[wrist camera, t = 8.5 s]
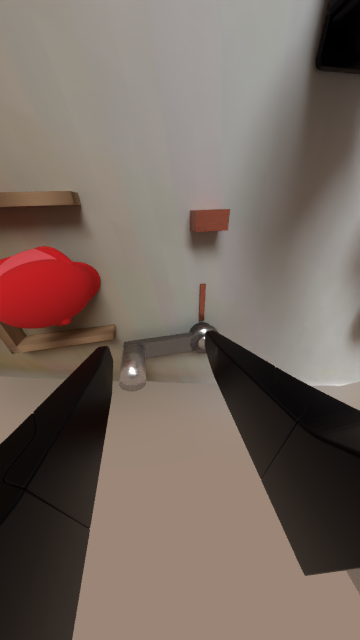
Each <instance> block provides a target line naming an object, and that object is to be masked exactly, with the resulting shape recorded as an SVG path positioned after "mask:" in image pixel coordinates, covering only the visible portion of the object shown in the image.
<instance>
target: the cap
mask: <svg viewBox="0 0 360 640" xmlns="http://www.w3.org/2000/svg"><path fill="white" fill-rule="evenodd" d="M99 287H100V276H99V274H98V272H97V271H96V270H95V269H94V268H93V267H92V266H90V265H88V264H85V263H81V262H73V261H71V260H70V259H69V258H68V257H67V256H65V255H64V254H63V253H61V252H60V251H58V250H56V249H54V248H51V247H45V246H43V247H38V248H35V249H31V250H27V251H23V252H21V253H18V254H16V255H14V256H12V257H8V258H4V259H1V260H0V321H1V322H3V323H5V324H7V325H10V326H14V327H18V328H43V327H48V326H52V325H57V326H61V325H67V324H70V322H71V320H72V319H71V318H72V317H73V316H75V315H76V314H78V313H79V312H80V311H81V310H82V309H83V308H84V307H85V306H86V305H87V303H88V302H89V300H90V299H91V298H92V297H93V296H94V295H95V294H96V293H97V291H98V289H99Z"/></svg>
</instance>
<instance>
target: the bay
mask: <svg viewBox="0 0 360 640" xmlns="http://www.w3.org/2000/svg"><path fill="white" fill-rule="evenodd" d="M63 205H81V203H80V200H79V196H78V193H76V192H72V191H51V192H3V193H0V208H1V207H32V206H63ZM115 335H116V327H115V325H109V326H101V327H93V328H85V329H78V330H70V331H62V332H55V333H47V334H39V335H31V336H26V335H25V334H24V332H23V331H22V329H21V328H18V327H14V326H10V325H7V324H5V323H3V322H1V321H0V338H1V339H2V341H3V342H4V343H5V345H6V346H7V347H8V349H9V350H10V351H11V353H12V354H13V353H20V352H27V351H34V350H41V349H48V348H56V347H63V346H70V345H77V344H84V343H91V342H98V341H105V340H112V339H115Z"/></svg>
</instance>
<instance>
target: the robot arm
mask: <svg viewBox="0 0 360 640" xmlns="http://www.w3.org/2000/svg"><path fill="white" fill-rule="evenodd" d="M324 54H325V55H326V59H325V60H324ZM316 67H317V69H318V70H324V71H335V72H346V73H357V74H360V0H330V2H329V6H328V11H327V15H326V20H325V24H324V28H323V32H322V37H321V41H320V45H319V49H318V53H317V58H316ZM205 350H206V353H207V356H208V359H209V362H210V365H211V369H212V372H213V375H214V377H215V379H216V382H217V384H218V386H219V388H220V390H221V393H222V395H223V397H224V399H225V401H226V404H227V406H228V408H229V410H230V412H231V415H232V417H233V419H234V421H235V423H236V426H237V428H238V430H239V432H240V434H241V436H242V439H243V441H244V443H245V445H246V448H247V450H248V451H249V454H250V456H251V459H252V461H253V463H254V465H255V467H256V469H257V472H258V474H259V476H260V478H261V480H262V483H263V485H264V487H265V490H266V492H267V494H268V496H269V498H270V500H271V503H272V505H273V507H274V509H275V512H276V514H277V516H278V518H279V520H280V522H281V525H282V527H283V529H284V531H285V534H286V536H287V538H288V540H289V542H290V545H291V547H292V549H293V551H294V553H295V556H296V558H297V560H298V562H299V564H300V566H301V569H302V571H303V573H304V575H305V576H307V575H314V574H322V573H330V572H336V571H344V570H346V571H347V573H348V574H349V576H350V578H351V580H352V582H353V583H354V585H355V587H356V589H357V590H358V592H359V594H360V411H359V410H357V409H355V408H353V407H351V406H349V405H347V404H345V403H343V402H341V401H339V400H337V399H335V398H333V397H331V396H329V395H327V394H325V393H323V392H321V391H319V390H317V389H315V388H313V387H311V386H309V385H308V384H306V383H304V382H302V381H300V380H298V379H296V378H294V377H293V376H291V375H289V374H287V373H286V372H284V371H282V370H280V369H279V368H277V367H276V368H275V366H274V365H272V364H270V363H268V362H267V361H265V360H263V359H262V358H260V357H258V356H257V355H255V354H253V353H252V352H250V351H248V350H246V349H245V348H243V347H241V346H240V345H238V344H236V343H235V342H233V341H231V340H229V339H228V338H226V337H224V336H223V335H221V334H219V333H218V332H216V331H214V330H211V331H206V332H205ZM112 380H113V358H112V355H111V352H110V349H109V347H108V346H102V347H98V348H97V349H96V350H95V351H94V352H93V353H92V354H91V355H90V356H89V357H88V358H87V359H86V360H85V361H84V362H83V363H82V364H81V365H80V366H79V367H78V368H77V369H76V370H75V371H74V372H73V373H72V374H71V375H70V376H69V377H68V378H67V379H66V380H65V381H64V382H63V383H62V384H61V385H60V386H59V387H58V388H57V389H56V390H55V391H54V392H53V393H52V394H51V395H50V396H49V397H48V398H47V399H46V400H45V401H44V402H43V403H42V404H41V405H40V406H39V407H38V408H37V409H36V410H35V411H34V414H31V415H30V416H29V417H28V418H27V419H26V420H25V421H24V422H23V423H22V424H21V425H20V426H19V427H18V428H17V429H16V430H15V431H14V432H13V433H12V434H11V435H10V436H9V437H8V438H7V439H5V440H4V441H3V442H2V443H1V444H0V640H72V637H73V630H74V624H75V618H76V611H77V606H78V600H79V593H80V588H81V581H82V574H83V569H84V563H85V557H86V551H87V544H88V538H89V532H90V529H89V528H90V525H91V519H92V513H93V507H94V501H95V495H96V488H97V482H98V476H99V470H100V464H101V458H102V452H103V445H104V440H105V434H106V427H107V421H108V415H109V409H110V403H111V396H112Z"/></svg>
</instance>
